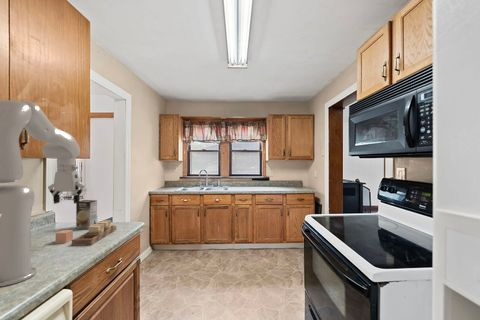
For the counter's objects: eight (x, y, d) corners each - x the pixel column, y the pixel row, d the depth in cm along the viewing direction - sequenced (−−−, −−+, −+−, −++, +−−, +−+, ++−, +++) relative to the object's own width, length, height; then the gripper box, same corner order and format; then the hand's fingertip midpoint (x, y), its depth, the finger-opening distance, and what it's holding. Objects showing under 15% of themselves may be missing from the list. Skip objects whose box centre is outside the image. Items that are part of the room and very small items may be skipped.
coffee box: (75, 229, 141) (75, 201, 141) (83, 226, 148) (83, 199, 148) (90, 229, 140) (89, 201, 140) (97, 226, 147) (97, 200, 147)
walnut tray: (91, 245, 114) (91, 232, 114) (71, 245, 113) (71, 232, 113) (116, 229, 139) (116, 219, 139) (100, 230, 138) (100, 219, 138)
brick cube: (66, 243, 117) (66, 233, 117) (55, 243, 117) (55, 233, 117) (72, 239, 122) (72, 230, 122) (62, 240, 122) (62, 230, 122)
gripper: (88, 168, 124) (88, 201, 124) (54, 168, 123) (54, 201, 124) (79, 168, 116) (79, 204, 117) (42, 169, 116) (42, 204, 116)
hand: (66, 203), depth 120 cm, fingers open, 9 cm apart
